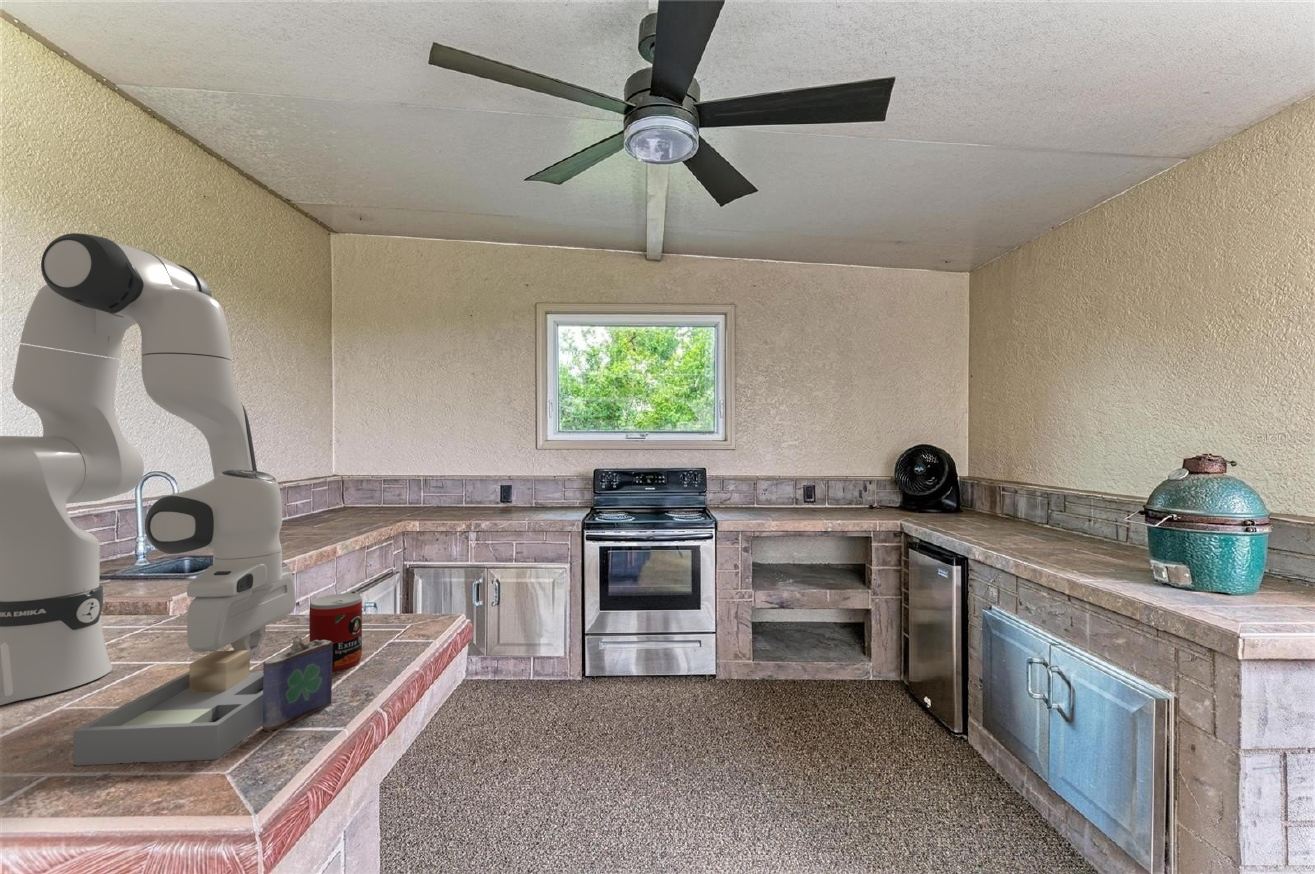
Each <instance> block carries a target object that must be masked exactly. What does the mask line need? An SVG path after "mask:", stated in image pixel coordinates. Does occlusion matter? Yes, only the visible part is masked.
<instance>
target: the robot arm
mask: <svg viewBox="0 0 1315 874" xmlns="http://www.w3.org/2000/svg"><path fill="white" fill-rule="evenodd" d="M40 270H41V275H42V277H43V279H44V281H45V283H46V284H45V285H43V286H42V287H41V288H40V289H38V292H37V293H36V296H35V297H34V299H33V301H32V304H31V306H30V308H29V310H28V313H27V316H26V318H25V321H24V325H23V327H22V328H23V329H22V332H21V337H20V341H19V347H18V352H17V359H16V364H15V368H14V369H15V370H14V375H13V380H12V392H13V395H14V396H15V398H16V399H17V400H18V401H19V402H20V403H22V404H24V405H25V406H26V407H29V408H30V409H32V410H34V411H35V412H36V413H37V415H38V416H39V419H40V421H41V424H42V436H32V435H30V436H27V435H25V436H22V435H20V436H19V435H15V436H14V435H0V706H3V705H7V704H11V703H13V702H17V701H18V702H19V701H21V700H22V701H23V700H26V699H27V700H28V699H32V698H38V697H42V696H46V695H50V694H54V693H58V692H62V691H66V690H69V689H73V688H76V687H79V686H82V685H85V684H87V683H90V682H93V681H95V680H97V679H100V678H102V677H103V676H105V675H107V674H109V673H110V672H111V671H112V670H113V668H114V667H113V665H112V663H111V661H110V658H109V653H108V650H107V645H106V641H105V635H104V630H103V629H104V627H103V624H102V618H101V614H102V611H103V610H102V609H103V607H104V596H105V595H104V594H105V593H104V588H103V585H101V584H100V558H101V556H100V555H101V554H100V550H101V545H100V542H99V541H100V540H98V538H97V536H95V535H94V534H92V533H91V532H89V531H87V530H84V529H81V528H78V527H77V525H75V524H74V522H73V521H72V519H71V517H70V515H69V513H68V510H67V504H79V503H87V502H98V501H99V502H100V501H103V500H106V499H110V498H113V497H116V496H120V495H122V494H126V493H129V492H131V491H132V490H134V489H135V488H136V487H138V485H139V484H140V482H141V480H142V478H143V476H144V471H145V465H144V459H143V457H142V455H141V453H140V452H139V450H138V449H137V448H135V447H134V446H133V445H132V444H131V443H129V442H128V440H127V439H126V438H125V436H124V435H123V433H122V431H121V429H120V425H119V422H118V419H117V416H116V410H115V408H116V407H115V397H116V396H115V395H116V394H115V393H116V387H117V381H118V380H117V379H118V371H119V366H120V359H121V352H122V345H123V339H124V336H125V334H126V332H127V330H129V328H130V327H132V326H135V325H136V324H137V326H138V327H139V330H140V335H141V336H140V337H141V344H140V345H141V347H140V348H141V352H140V353H141V354H140V355H141V359H140V360H141V362H140V363H141V378H142V382H143V386H144V388H145V391H146V394H147V395H148V397H149V398H150V399H151V401H153V402H154V403H155V404H156V405H157V406H159V407H160V408H161V409H163V410H164V411H166V412H167V413H169V414H171V415H174V416H176V417H178V418H180V419H182V420H184V421H186V422H187V423H189V424H191V425H192V426H194V427H195V428H196V429H197V430H198V431H199V432H201V434H202V435H203V436H204V438H205V440H206V441H207V444H208V448H209V453H210V459H211V466H212V471H213V479H211V480H209V481H207V482H206V483H204V484H203V483H202V484H201V485H199V486H196V487H194V488H190V489H188V490H183V491H182V492H177V493H174V494H170V495H168V496H163V497H161V498H159V499H157V500H156V501H155V502H154V503H153V504H152V505H151V507H150V508H149V509H148V511H147V513H146V515H145V519H144V532H145V535H146V539H148V541H149V543H150V544H151V545H152V547H153V548H155V549H157V550H158V551H160V552H162V553H164V554H168V555H185V554H186V555H187V554H192V553H196V552H197V553H198V552H202V551H203V552H204V551H209V550H211V551H212V553H213V555H212V556H213V557H212V564H211V565H209V566H208V567H207V568H206V569H205V570H204V571H202V573H201V574H199V575H198V576H196V577H195V578H194V579H192V580H191V581H190V582H189V583H188V584H187V586H186V596H187V597H188V598H193V599H192V600H191V601H190V603H189V605H188V609H187V615H186V638H187V646H188V647H189V648H190V650H191V651H192V652H193V653H194V652H195V653H203V652H204V653H205V652H215V651H220V649H222V648H225V647H226V646H228V645H230V646H231V647H232V648H233V651H237V650H250V661H252V660H253V659H255V658H257V657H259V656H260V654H261V644H262V643H263V639H264V637H265V633H266V626H268V625H270V624H272V623H274V622H276V621H279V620H281V619H282V618H285V617H286V616H288V615H289V614H292V613H294V610H295V609H296V604H297V597H296V585H295V580H294V579H295V578H294V576H293V574H292V573H291V572H290V566H289V565H288V564H287V563H286V562H285V561H284V560H283V547H282V543H281V541H280V540H281V539H280V532H281V529H282V525H283V503H282V502H283V501H282V494H281V489H280V485H279V482H278V480H277V479H276V477H274V476H273V475H271V474H270V473H267V472H263V471H258V469H257V461H256V456H255V449H254V443H253V438H252V437H253V436H252V432H251V431H252V430H251V426H250V422H249V417H248V414H247V411H246V408H245V407H244V405H243V403H242V401H241V399H240V397H239V394H238V392H237V391H238V390H237V388H236V384H235V378H234V372H233V362H232V361H233V358H232V356H233V353H232V346H231V337H230V332H229V328H228V323H227V318H226V315H225V312H224V309H223V307H222V305H221V304H220V303H219V302H218V300H216V299H215V298H213V297H212V295H213V294H212V291H211V288H210V287H209V285H208V284H207V282H206V281H205V279H203V278H202V277H201V276H200V275H199V274H197V273H196V272H194V271H193V270H191V269H190V268H188V267H186V266H183V265H181V264H177V263H174V262H173V261H172V260H169V259H167V258H165V257H162V256H160V255H157V254H155V253H153V252H150V251H148V250H144V249H140V248H139V249H138V248H135V247H132V246H129V245H126V244H123V243H119V242H114V241H112V240H111V239H110V238H106V237H103V236H99V235H94V234H87V233H81V232H80V233H79V232H78V233H75V232H73V233H71V232H70V233H66V234H62V235H60V236H58V237H56V238H55V239H53V240H52V241H51V242H50V243H48V245H47V247H46V248H45V249H44V251H43V253H42V257H41V262H40Z"/></svg>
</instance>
